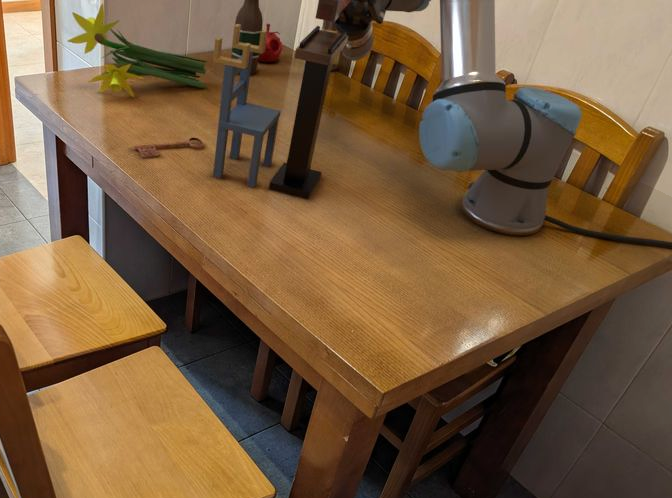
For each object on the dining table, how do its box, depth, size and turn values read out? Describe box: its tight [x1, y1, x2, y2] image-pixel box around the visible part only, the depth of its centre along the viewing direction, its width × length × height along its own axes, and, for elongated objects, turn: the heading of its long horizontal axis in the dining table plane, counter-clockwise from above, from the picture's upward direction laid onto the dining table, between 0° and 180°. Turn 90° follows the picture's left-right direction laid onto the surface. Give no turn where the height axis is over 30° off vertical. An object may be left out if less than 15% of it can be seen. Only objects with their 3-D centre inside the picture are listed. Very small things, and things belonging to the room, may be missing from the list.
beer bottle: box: [230, 0, 264, 76], centre depth 168 cm, size 8×8×24 cm
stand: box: [268, 25, 348, 200], centre depth 119 cm, size 14×8×27 cm, turn 159°
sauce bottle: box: [321, 20, 341, 72], centre depth 178 cm, size 7×6×20 cm
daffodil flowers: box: [67, 3, 208, 98], centre depth 153 cm, size 17×15×35 cm
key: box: [133, 137, 204, 159], centre depth 134 cm, size 6×1×15 cm
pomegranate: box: [258, 23, 283, 63], centre depth 182 cm, size 10×10×9 cm
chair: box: [212, 24, 282, 188], centre depth 122 cm, size 12×11×25 cm
